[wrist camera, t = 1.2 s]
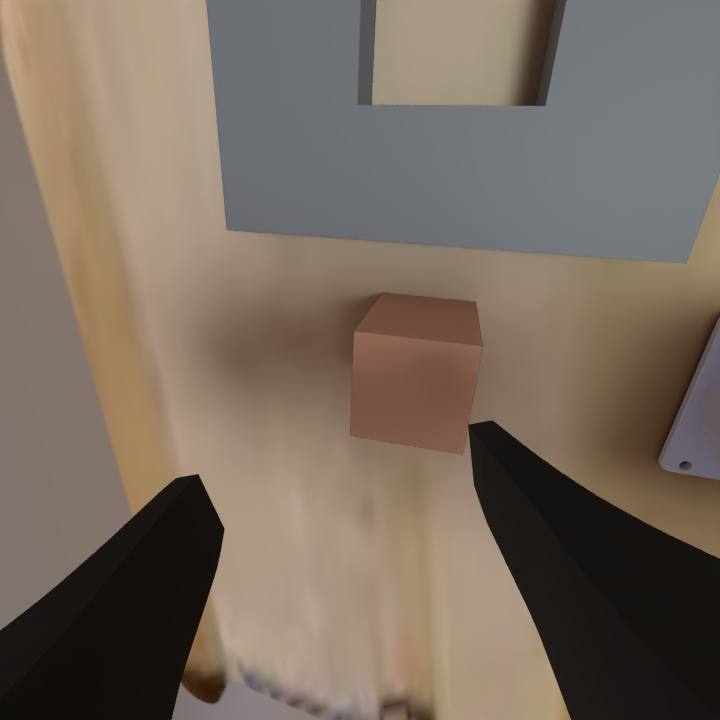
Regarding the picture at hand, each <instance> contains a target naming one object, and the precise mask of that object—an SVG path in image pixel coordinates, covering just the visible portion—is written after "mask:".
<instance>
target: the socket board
mask: <svg viewBox="0 0 720 720" xmlns="http://www.w3.org/2000/svg"><path fill="white" fill-rule="evenodd" d="M206 3H207V14H208V25H209V36H210V48H211V59H212V70H213V81H214V92H215V104H216V115H217V126H218V137H219V148H220V160H221V171H222V182H223V193H224V204H225V216H226V227H227V230H232V231H245V232H259V233H273V234H286V235H300V236H314V237H327V238H341V239H354V240H368V241H382V242H395V243H409V244H423V245H436V246H450V247H464V248H477V249H491V250H505V251H518V252H532V253H545V254H559V255H573V256H586V257H600V258H614V259H627V260H641V261H655V262H668V263H682V264H686V263H687V260H688V258H689V255H690V252H691V250H692V247H693V244H694V242H695V239H696V236H697V234H698V231H699V228H700V226H701V223H702V220H703V217H704V215H705V212H706V209H707V207H708V204H709V201H710V199H711V196H712V193H713V191H714V188H715V185H716V183H717V180H718V177H719V174H720V0H555V6H554V11H553V16H552V21H551V27H550V32H549V37H548V43H547V48H546V53H545V58H544V64H543V69H542V74H541V79H540V85H539V90H538V95H537V101H536V106H451V105H371V104H372V82H373V61H374V39H375V18H376V0H206Z"/></svg>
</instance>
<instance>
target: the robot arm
mask: <svg viewBox="0 0 720 720" xmlns="http://www.w3.org/2000/svg"><path fill="white" fill-rule="evenodd" d="M468 428H469V438H470V448H471V458H472V468H473V478H474V486H475V489H476V492H477V495H478V498H479V501H480V504H481V507H482V510H483V513H484V515H485V518H486V521H487V524H488V526H489V528H490V530H491V532H492V534H493V536H494V538H495V541H496V543H497V545H498V547H499V549H500V551H501V553H502V555H503V557H504V559H505V562H506V564H507V566H508V568H509V570H510V572H511V574H512V576H513V578H514V580H515V582H516V584H517V587H518V589H519V591H520V593H521V595H522V597H523V599H524V601H525V603H526V605H527V607H528V610H529V612H530V614H531V616H532V619H533V621H534V623H535V626H536V628H537V630H538V633H539V635H540V638H541V640H542V643H543V646H544V648H545V651H546V654H547V656H548V659H549V662H550V664H551V667H552V669H553V672H554V675H555V677H556V680H557V683H558V685H559V688H560V691H561V694H562V696H563V699H564V702H565V704H566V707H567V710H568V713H569V715H570V718H571V720H720V558H717V557H715V556H713V555H711V554H708V553H706V552H704V551H702V550H700V549H698V548H696V547H694V546H692V545H689V544H687V543H685V542H683V541H681V540H679V539H677V538H675V537H672V536H670V535H668V534H666V533H664V532H662V531H660V530H658V529H656V528H654V527H652V526H651V525H649V524H647V523H645V522H643V521H641V520H639V519H638V518H636V517H634V516H632V515H630V514H628V513H627V512H625V511H623V510H621V509H619V508H617V507H616V506H614V505H612V504H610V503H609V502H607V501H605V500H604V499H602V498H600V497H598V496H597V495H595V494H594V493H592V492H590V491H589V490H587V489H586V488H584V487H583V486H581V485H579V484H578V483H576V482H575V481H573V480H572V479H570V478H569V477H567V476H566V475H564V474H563V473H561V472H560V471H559V470H557V469H556V468H554V467H553V466H552V465H550V464H549V463H547V462H546V461H545V460H543V459H542V458H540V457H539V456H538V455H536V454H535V453H534V452H532V451H531V450H530V449H528V448H527V447H526V446H524V445H523V444H522V443H521V442H519V441H518V440H517V439H515V438H514V437H513V436H512V435H510V434H509V433H508V432H507V431H505V430H504V429H503V428H502V427H500V426H499V425H498V424H496V423H495V422H494V421H486V422H481V423H475V424H470V425H468ZM684 461H688V462H687V463H686V464H684V465H679V464H680V463H681V462H684ZM658 462H659V464H660V465H661V467H662V468H663V469H664V470H666V471H669V472H675V473H681V474H687V475H693V476H699V477H705V478H711V479H718V480H720V318H719V319H718V321H717V323H716V325H715V327H714V330H713V332H712V334H711V337H710V339H709V341H708V344H707V346H706V348H705V351H704V353H703V355H702V358H701V360H700V362H699V365H698V367H697V369H696V372H695V374H694V376H693V379H692V381H691V383H690V386H689V388H688V390H687V393H686V395H685V397H684V400H683V402H682V404H681V407H680V409H679V412H678V414H677V416H676V419H675V421H674V423H673V426H672V428H671V430H670V433H669V435H668V437H667V440H666V442H665V444H664V447H663V449H662V451H661V454H660V456H659V459H658ZM223 535H224V527H223V525H222V523H221V521H220V519H219V516H218V514H217V512H216V510H215V508H214V506H213V504H212V502H211V500H210V498H209V495H208V493H207V491H206V489H205V487H204V485H203V483H202V481H201V479H200V476H199V474H196V475H191V476H185V477H180V478H176V479H175V480H174V481H172V482H171V483H170V484H169V485H167V486H166V487H165V488H164V489H163V490H162V491H161V492H160V493H158V494H157V495H156V496H155V497H154V498H153V499H152V500H151V501H150V502H149V503H148V504H147V505H145V506H144V507H143V508H142V509H141V510H140V511H139V512H138V513H137V514H136V515H135V516H134V517H133V518H132V519H131V520H130V521H128V523H126V524H125V525H124V526H123V527H122V528H121V529H120V530H119V531H118V532H117V533H116V534H115V535H114V536H112V537H111V538H110V539H109V540H108V541H107V542H106V543H105V544H104V545H103V546H101V547H100V548H99V549H98V550H97V551H96V552H95V553H94V554H93V555H91V556H90V557H89V558H88V559H87V560H86V561H85V562H83V563H82V564H81V565H80V566H79V567H78V568H77V569H75V570H74V571H73V572H72V573H71V574H70V575H69V576H68V577H66V578H65V579H64V580H63V581H62V582H61V583H59V584H58V585H57V586H56V587H55V588H53V589H52V590H51V591H50V592H49V593H47V594H46V595H45V596H44V597H43V598H41V599H40V600H39V601H38V602H36V603H35V604H34V605H33V606H31V607H30V608H29V609H27V610H26V611H25V612H24V613H22V614H21V615H20V616H18V617H17V618H16V619H15V620H13V621H12V622H11V623H9V624H8V625H7V626H6V627H4V628H3V629H2V630H0V720H171V719H172V715H173V710H174V707H175V702H176V698H177V694H178V690H179V686H180V682H181V679H182V675H183V672H184V669H185V665H186V662H187V659H188V656H189V653H190V650H191V647H192V644H193V641H194V638H195V635H196V632H197V629H198V626H199V623H200V620H201V617H202V614H203V611H204V608H205V605H206V602H207V598H208V595H209V592H210V589H211V586H212V583H213V580H214V577H215V573H216V570H217V566H218V562H219V557H220V552H221V547H222V541H223Z"/></svg>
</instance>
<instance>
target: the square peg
mask: <svg viewBox="0 0 720 720" xmlns="http://www.w3.org/2000/svg"><path fill="white" fill-rule="evenodd" d="M482 348H483V345H482V338H481V332H480V325H479V319H478V312H477V306H476V302H473V301H462V300H452V299H442V298H432V297H422V296H412V295H401V294H391V293H382V294H381V296H380V297H379V298H378V300H377V301H376V302H375V304H374V305H373V306H372V308H371V309H370V310H369V312H368V313H367V314H366V316H365V317H364V318H363V320H362V321H361V323H360V324H359V325H358V327H357V328H356V329H355V331H354V343H353V369H352V396H351V422H350V436H355V437H361V438H367V439H373V440H379V441H385V442H391V443H397V444H402V445H408V446H414V447H420V448H426V449H432V450H438V451H443V452H449V453H455V454H461V455H463V452H464V447H465V441H466V436H467V430H468V425H469V419H470V414H471V408H472V403H473V397H474V392H475V386H476V381H477V376H478V370H479V365H480V359H481V354H482Z"/></svg>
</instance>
